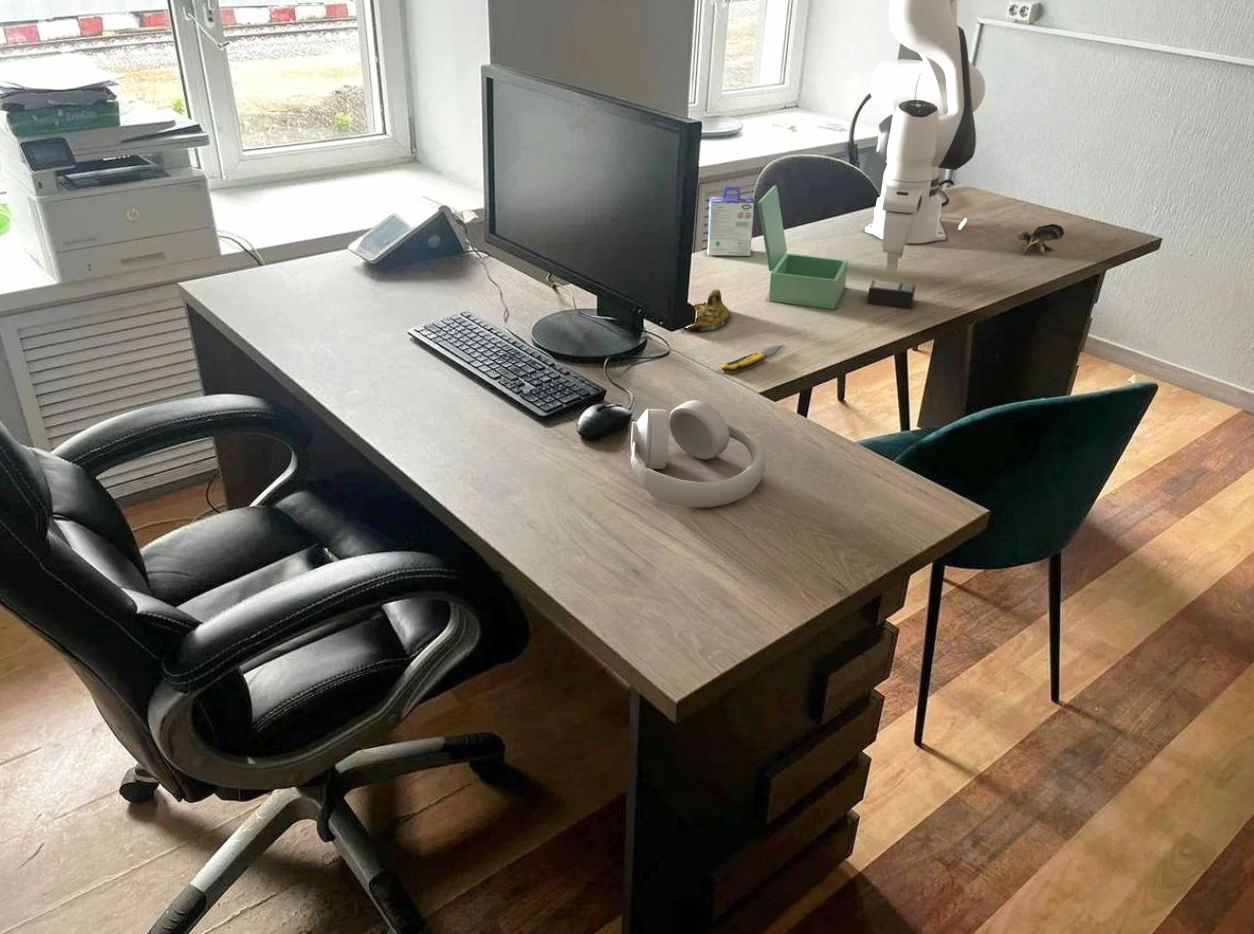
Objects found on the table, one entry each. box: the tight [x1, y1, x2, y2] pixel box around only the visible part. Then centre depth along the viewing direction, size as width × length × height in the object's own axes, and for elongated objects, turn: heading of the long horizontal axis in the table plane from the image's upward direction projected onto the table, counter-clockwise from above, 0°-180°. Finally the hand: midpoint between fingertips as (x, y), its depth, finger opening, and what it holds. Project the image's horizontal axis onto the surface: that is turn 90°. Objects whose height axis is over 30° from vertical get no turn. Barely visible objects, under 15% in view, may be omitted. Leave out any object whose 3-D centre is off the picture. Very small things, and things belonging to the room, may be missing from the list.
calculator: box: [867, 279, 917, 309], centre depth 200 cm, size 8×5×3 cm, turn 70°
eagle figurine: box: [1016, 223, 1065, 256], centre depth 228 cm, size 8×7×9 cm
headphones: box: [630, 399, 766, 509], centre depth 139 cm, size 18×8×20 cm
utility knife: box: [721, 344, 784, 374], centre depth 175 cm, size 16×1×3 cm
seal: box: [682, 289, 731, 332], centre depth 190 cm, size 9×5×15 cm
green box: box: [768, 252, 849, 310], centre depth 203 cm, size 13×14×6 cm
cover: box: [757, 185, 788, 272], centre depth 200 cm, size 14×14×1 cm
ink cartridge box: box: [706, 186, 755, 257], centre depth 224 cm, size 10×6×14 cm, turn 89°
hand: (894, 263), depth 196 cm, fingers open, 8 cm apart
